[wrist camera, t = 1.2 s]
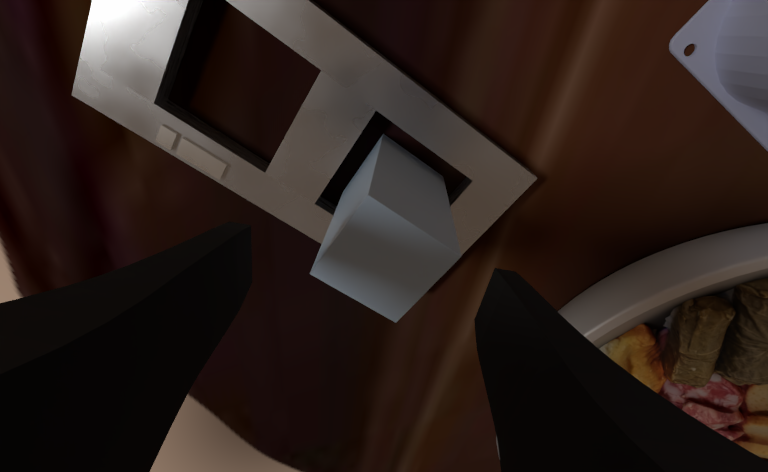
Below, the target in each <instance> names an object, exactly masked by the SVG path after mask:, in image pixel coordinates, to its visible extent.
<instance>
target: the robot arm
mask: <svg viewBox="0 0 768 472" xmlns="http://www.w3.org/2000/svg"><path fill="white" fill-rule="evenodd" d="M689 44H694V46H695V50H694V52H693V53H692V54H691V55H690V56H687V57H686V56H685V55H684V49H685V48H686V46H688V45H689ZM669 50H670V52H671V54H672V55H673V56H674V57H675V58H676V59H677V60H678V61H679V62H680V63H681V64H682V65H683V66H684V67H685V68H686V69H687V70H688V71H689V72H690V73H691V74H692V75H693V76H694V77H695V78H696V79H697V80H698V81H699V82H700V83H701V84H702V85H703V86H704V87H705V88H706V89H707V90H708V91H709V92H710V93H711V94H712V95H713V96H714V97H715V98H716V100H717V101H718V102H719V103H720V104H721V105H722V106H723V107H724V108H725V109H726V110H727V111H728V112H729V113H730V114H731V115H732V116H733V117H734V118H735V119H736V120H737V121H738V122H739V123H740V124H741V125H742V126H743V127H744V128H745V129H746V130H747V131H748V132H749V133H750V134H751V135H752V136H753V137H754V138H755V139H756V140H757V141H758V142H759V143H760V144H761V145H762V146H763V147H764V148H765V149H766V151H767V152H768V0H709V1H708V2H707V3H706V4H705V5H704V6H703V7H702V8H701V9H700V10H699V11H698V12H697V13H696V14H695V15H694V16H693V17H692V18H691V19H690V20H689V21H688V22H687V23H686V24H685V25H684V26H683V27H682V28H681V29H680V30H679V31H678V32H677V33H676V34H675V35H674V37H673V38H672V39H671V41H670V44H669ZM251 283H252V255H251V225H245V224H239V223H234V222H228V223H225V224H223V225H220V226H218V227H216V228H213V229H211V230H209V231H207V232H205V233H202V234H200V235H198V236H196V237H194V238H192V239H189V240H187V241H185V242H183V243H181V244H178V245H176V246H174V247H172V248H169V249H167V250H165V251H162V252H160V253H158V254H155V255H153V256H150V257H148V258H145V259H143V260H140V261H138V262H136V263H133V264H131V265H128V266H126V267H123V268H120V269H117V270H115V271H112V272H109V273H106V274H103V275H100V276H97V277H94V278H91V279H88V280H85V281H82V282H79V283H75V284H72V285H69V286H65V287H61V288H58V289H54V290H50V291H46V292H43V293H39V294H35V295H31V296H28V297H24V298H20V299H16V300H12V301H8V302H4V303H0V472H150V469H151V467H152V465H153V463H154V461H155V459H156V457H157V455H158V452H159V450H160V448H161V446H162V444H163V442H164V440H165V438H166V436H167V434H168V431H169V429H170V427H171V425H172V423H173V421H174V419H175V417H176V415H177V413H178V411H179V409H180V408H181V406H182V404H183V402H184V400H185V398H186V396H187V394H188V392H189V390H190V388H191V386H192V385H193V383H194V381H195V380H196V378H197V376H198V375H199V373H200V371H201V370H202V368H203V367H204V365H205V364H206V362H207V360H208V359H209V357H210V356H211V354H212V353H213V351H214V350H215V348H216V346H217V345H218V343H219V342H220V340H221V339H222V337H223V335H224V334H225V332H226V331H227V329H228V328H229V326H230V324H231V323H232V321H233V320H234V318H235V316H236V315H237V313H238V311H239V310H240V307H241V305H242V303H243V301H244V299H245V297H246V295H247V292H248V290H249V288H250V285H251ZM475 332H476V343H477V351H478V356H479V361H480V365H481V369H482V374H483V378H484V382H485V387H486V391H487V395H488V399H489V404H490V408H491V412H492V416H493V421H494V425H495V431H496V436H497V441H498V449H499V457H500V464H501V472H768V461H766V460H764V459H762V458H760V457H759V456H757V455H755V454H753V453H752V452H750V451H748V450H746V449H745V448H743V447H741V446H740V445H738V444H736V443H735V442H733V441H731V440H730V439H728V438H726V437H725V436H723V435H721V434H720V433H718V432H716V431H714V430H713V429H711V428H710V427H708V426H706V425H705V424H703V423H702V422H700V421H698V420H697V419H695V418H694V417H692V416H690V415H689V414H687V413H686V412H684V411H683V410H681V409H680V408H678V407H677V406H675V405H674V404H672V403H671V402H669V401H668V400H667V399H665V398H664V397H662V396H661V395H659V394H658V393H656V392H655V391H653V390H652V389H650V388H649V387H648V386H646V385H645V384H643V383H642V382H641V381H639V380H638V379H637V378H635V377H634V376H633V375H631V374H630V373H629V372H627V371H626V370H625V369H623V368H622V367H621V366H620V365H618V364H617V363H616V362H614V361H613V360H612V359H611V358H609V357H608V356H607V355H606V354H604V353H603V352H602V351H601V350H600V349H598V348H597V347H596V346H595V345H594V344H593V343H591V342H590V341H589V340H588V339H587V338H586V337H585V336H583V335H582V334H581V333H580V332H579V331H578V330H577V329H576V328H574V327H573V326H572V325H571V324H570V323H569V322H568V321H567V320H566V319H565V318H564V317H563V316H562V315H560V314H559V313H558V312H557V311H556V310H555V309H554V308H553V307H552V306H551V305H550V304H549V303H548V302H547V301H546V300H545V299H544V298H543V297H542V296H541V295H540V294H539V293H538V292H537V291H536V290H535V289H534V288H533V287H532V286H531V285H530V284H529V283H527V282H526V281H525V280H524V279H523V278H522V277H521V276H520V275H519V274H517V273H516V272H514V271H508V270H502V269H497V268H495V269H494V272H493V274H492V277H491V279H490V282H489V284H488V287H487V290H486V292H485V295H484V297H483V300H482V302H481V305H480V307H479V310H478V312H477V315H476V317H475Z"/></svg>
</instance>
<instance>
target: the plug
mask: <svg viewBox="0 0 768 472" xmlns="http://www.w3.org/2000/svg"><path fill="white" fill-rule="evenodd" d="M460 257H461V251H460V247H459V243H458V238H457V234H456V230H455V225H454V221H453V217H452V212H451V208H450V204H449V199H448V195H447V191H446V186H445V182H444V178H443V176H442V175H440V174H439V173H438V172H436V171H435V170H433V169H432V168H431V167H429V166H428V165H426V164H425V163H424V162H422V161H421V160H419V159H418V158H417V157H415V156H414V155H412V154H411V153H410V152H408V151H407V150H405V149H404V148H403V147H401V146H400V145H398V144H397V143H396V142H394V141H393V140H391V139H390V138H389V137H387V136H386V135H384V134H383V135H382V136H381V138H380V139H379V140H378V142H377V143H376V145H375V146H374V148H373V149H372V151H371V152H370V153H369V155H368V156H367V158H366V159H365V161H364V162H363V163H362V165H361V166H360V168H359V169H358V171H357V172H356V174H355V175H354V176H353V178H352V179H351V181H350V182H349V184H348V185H347V187H346V188H345V189H344V191H343V193H342V196H341V198H340V201H339V203H338V205H337V208H336V210H335V213H334V215H333V218H332V220H331V223H330V225H329V228H328V230H327V233H326V235H325V238H324V240H323V242H322V245H321V247H320V250H319V252H318V255H317V257H316V260H315V262H314V265H313V267H312V270H311V272H310V274H311V275H313V276H314V277H316V278H318V279H320V280H321V281H323V282H325V283H327V284H328V285H330V286H332V287H334V288H336V289H337V290H339V291H341V292H343V293H344V294H346V295H348V296H350V297H351V298H353V299H355V300H357V301H358V302H360V303H362V304H364V305H365V306H367V307H369V308H371V309H373V310H374V311H376V312H378V313H380V314H381V315H383V316H385V317H387V318H388V319H390V320H392V321H394V322H395V323H396V322H397V321H398V320H399V319H400V318H401V317H402V316H403V315H404V314H405V313H406V312H407V311H408V310H409V309H410V308H411V307H412V306H413V305H414V304H415V303H416V302H417V301H418V300H419V299H420V298H421V297H422V296H423V295H424V294H425V293H426V292H427V291H428V290H429V289H430V288H431V287H432V286H433V285H434V284H435V283H436V282H437V281H438V280H439V279H440V278H441V277H442V276H443V275H444V274H445V273H446V272H447V271H448V270H449V269H450V268H451V267H452V266H453V265H454V264H455V263H456V262H457V261H458V260H459V258H460Z"/></svg>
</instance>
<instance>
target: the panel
mask: <svg viewBox="0 0 768 472" xmlns="http://www.w3.org/2000/svg"><path fill="white" fill-rule="evenodd" d="M226 1H227V2H229V3H230V4H231V5H233V6H234V7H235V8H237V9H238V10H240V11H241V12H242V13H244V14H245V15H246V16H248V17H249V18H250V19H252V20H253V21H255V22H256V23H257V24H259V25H260V26H261V27H263V28H264V29H266V30H267V31H268V32H270V33H271V34H272V35H274V36H275V37H276V38H278V39H279V40H281V41H282V42H283V43H285V44H286V45H287V46H289V47H290V48H292V49H293V50H294V51H296V52H297V53H298V54H300V55H301V56H302V57H304V58H305V59H307V60H308V61H309V62H311V63H312V64H313V65H315V66H316V67H318V68H319V69H320V70H321V72H320V74H319V76H318V77H317V79H316V81H315V83H314V85H313V87H312V88H311V90H310V92H309V94H308V96H307V97H306V99H305V101H304V103H303V105H302V107H301V108H300V110H299V112H298V114H297V116H296V117H295V119H294V121H293V123H292V125H291V127H290V128H289V130H288V132H287V134H286V136H285V137H284V139H283V141H282V143H281V145H280V147H279V148H278V150H277V152H276V154H275V156H274V157H273V159H272V161H271V163H268V162H266V161H265V160H263V159H262V158H260V157H258V156H257V155H255V154H254V153H252V152H251V151H249V150H247V149H246V148H244V147H243V146H241V145H240V144H238V143H236V142H235V141H233V140H232V139H230V138H228V137H227V136H225V135H224V134H222V133H221V132H219V131H217V130H216V129H214V128H213V127H211V126H209V125H208V124H206V123H205V122H203V121H202V120H200V119H198V118H197V117H195V116H194V115H192V114H191V113H189V112H187V111H186V110H184V109H183V108H181V107H179V106H178V105H176V104H175V103H173V102H172V101H170V100H168V98H169V95H170V92H171V89H172V87H173V84H174V81H175V78H176V75H177V73H178V70H179V67H180V64H181V61H182V59H183V56H184V53H185V50H186V47H187V44H188V42H189V39H190V36H191V33H192V30H193V28H194V25H195V22H196V19H197V16H198V14H199V11H200V8H201V5H202V2H203V0H92V4H91V8H90V13H89V18H88V22H87V27H86V31H85V36H84V41H83V45H82V50H81V54H80V59H79V63H78V68H77V73H76V77H75V82H74V86H73V91H72V95H73V96H74V97H76V98H78V99H79V100H81V101H83V102H84V103H86V104H88V105H89V106H91V107H93V108H94V109H96V110H98V111H99V112H101V113H103V114H104V115H106V116H108V117H110V118H111V119H113V120H115V121H116V122H118V123H120V124H121V125H123V126H125V127H126V128H128V129H130V130H131V131H133V132H135V133H136V134H138V135H140V136H141V137H143V138H145V139H146V140H148V141H150V142H151V143H153V144H155V145H156V146H158V147H160V148H161V149H163V150H165V151H167V152H168V153H170V154H172V155H173V156H175V157H177V158H178V159H180V160H182V161H183V162H185V163H187V164H188V165H190V166H192V167H193V168H195V169H197V170H198V171H200V172H202V173H203V174H205V175H207V176H208V177H210V178H212V179H213V180H215V181H217V182H218V183H220V184H222V185H224V186H225V187H227V188H229V189H230V190H232V191H234V192H235V193H237V194H239V195H240V196H242V197H244V198H245V199H247V200H249V201H250V202H252V203H254V204H255V205H257V206H259V207H260V208H262V209H264V210H265V211H267V212H269V213H270V214H272V215H274V216H276V217H277V218H279V219H281V220H282V221H284V222H286V223H287V224H289V225H291V226H292V227H294V228H296V229H297V230H299V231H301V232H302V233H304V234H306V235H307V236H309V237H311V238H312V239H314V240H316V241H317V242H319V243H321V244H322V242H323V240H324V238H325V235H326V233H327V230H328V228H329V225H330V223H331V220H332V218H333V215H334V213H335V210H336V208H337V206H336V205H334V204H333V203H331V202H330V201H328V200H326V199H325V198H323V197H322V196H320V195H321V193H322V192H323V190H324V189H325V187H326V186H327V184H328V183H329V181H330V180H331V178H332V177H333V175H334V174H335V172H336V171H337V169H338V168H339V166H340V165H341V163H342V161H343V160H344V158H345V157H346V155H347V154H348V152H349V151H350V149H351V148H352V146H353V145H354V143H355V142H356V140H357V139H358V137H359V136H360V134H361V133H362V131H363V130H364V128H365V127H366V125H367V124H368V122H369V121H370V119H371V118H372V116H373V115H374V113H375V111H378V112H379V113H381V114H382V115H383V116H385V117H386V118H387V119H389V120H390V121H391V122H393V123H394V124H396V125H397V126H398V127H400V128H401V129H402V130H404V131H405V132H407V133H408V134H409V135H411V136H412V137H413V138H415V139H416V140H417V141H419V142H420V143H422V144H423V145H424V146H426V147H427V148H428V149H430V150H431V151H433V152H434V153H435V154H437V155H438V156H439V157H441V158H442V159H443V160H445V161H446V162H448V163H449V164H450V165H452V166H453V167H454V168H456V169H457V170H459V171H460V172H461V173H463V174H464V175H465V176H467V177H466V178H465V179H464V180H463V181H462V182H461V183H460V185H459V186H458V187H457V188H456V189H455V190H454V191H453V193H452V194H451V195H450V196H449V197H448V199H449V204H450V208H451V212H452V217H453V221H454V225H455V230H456V234H457V238H458V243H459V247H460V251H461V255H462V254H463V253H464V252H465V251H466V250H467V249H468V248H469V247H470V246H471V245H472V244H473V243H474V242H475V241H476V240H477V239H478V238H479V237H480V236H481V235H482V234H483V233H484V232H485V231H486V230H487V229H488V228H489V227H490V226H491V225H492V224H493V223H494V222H495V221H496V220H497V219H498V218H499V217H500V216H501V215H502V214H503V213H504V212H505V211H506V210H507V209H508V208H509V207H510V206H511V205H512V204H513V203H514V202H515V201H516V200H517V199H518V198H519V197H520V196H521V195H522V194H523V193H524V192H525V191H526V190H527V189H528V188H529V187H530V186H531V185H532V184H533V183H534V182H535V181H536V179H537V177H536V176H535V175H534V174H533V172H532V171H531V170H530V169H528V168H527V167H526V166H524V165H523V164H522V163H521V162H519V161H518V160H517V159H515V158H514V157H513V156H512V155H510V154H509V153H508V152H506V151H505V150H504V149H503V148H501V147H500V146H499V145H498V144H496V143H495V142H494V141H492V140H491V139H490V138H489V137H487V136H486V135H485V134H483V133H482V132H481V131H480V130H478V129H477V128H476V127H474V126H473V125H472V124H471V123H469V122H468V121H467V120H465V119H464V118H463V117H462V116H460V115H459V114H458V113H456V112H455V111H454V110H453V109H451V108H450V107H449V106H447V105H446V104H445V103H444V102H442V101H441V100H440V99H438V98H437V97H436V96H435V95H433V94H432V93H431V92H430V91H428V90H427V89H426V88H424V87H423V86H422V85H421V84H419V83H418V82H417V81H415V80H414V79H413V78H412V77H410V76H409V75H408V74H406V73H405V72H404V71H403V70H401V69H400V68H399V67H397V66H396V65H395V64H394V63H392V62H391V61H390V60H388V59H387V58H386V57H385V56H383V55H382V54H381V53H379V52H378V51H377V50H376V49H374V48H373V47H372V46H371V45H369V44H368V43H367V42H365V41H364V40H363V39H362V38H360V37H359V36H358V35H356V34H355V33H354V32H353V31H351V30H350V29H349V28H347V27H346V26H345V25H344V24H342V23H341V22H340V21H338V20H337V19H336V18H335V17H333V16H332V15H331V14H329V13H328V12H327V11H326V10H324V9H323V8H322V7H320V6H319V5H318V4H317V3H315V2H314V1H313V0H226Z"/></svg>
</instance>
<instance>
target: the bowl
mask: <svg viewBox="0 0 768 472" xmlns="http://www.w3.org/2000/svg"><path fill="white" fill-rule="evenodd" d="M558 313H559V314H560V315H562V316H563V317H564V318H565V319H566V320H567V321H568V322H569V323H570V324H571V325H572V326H573V327H574V328H576V329H577V330H578V331H579V332H580V333H581V334H582V335H583V336H585V337H586V338H587V339H588V340H589V341H590V342H591V343H593V344H594V345H595V346H596V347H597V348H598V349H600V350H601V351H602V352H603V353H604V354H606V355H607V356H608V357H609V358H611V359H612V360H613V361H614V362H616V363H617V364H618V365H620V366H621V367H622V368H623V369H625V370H626V371H627V372H629V373H630V374H631V375H633V376H634V377H635V378H637V379H638V380H639V381H641V382H642V383H643V384H645V385H646V386H648V387H649V388H650V389H652V390H653V391H655V392H656V393H658V394H659V395H661V396H662V397H664V398H665V399H667V400H668V401H669V402H671V403H672V404H674V405H675V406H677V407H678V408H680V409H681V410H683V411H684V412H686V413H687V414H689V415H690V416H692V417H694V418H695V419H697V420H698V421H700V422H702V423H703V424H705V425H706V426H708V427H710V428H711V429H713V430H714V431H716V432H718V433H720V434H721V435H723V436H725V437H726V438H728V439H730V440H731V441H733V442H735V443H736V444H738V445H740V446H741V447H743V448H745V449H746V450H748V451H750V452H752V453H753V454H755V455H757V456H759V457H760V458H762V459H764V460H766V461H768V223H765V224H759V225H753V226H747V227H742V228H737V229H732V230H728V231H723V232H720V233H716V234H712V235H708V236H704V237H701V238H698V239H695V240H691V241H688V242H685V243H682V244H679V245H676V246H674V247H671V248H668V249H665V250H663V251H660V252H658V253H655V254H653V255H650V256H648V257H645V258H643V259H641V260H639V261H637V262H634V263H632V264H630V265H628V266H626V267H624V268H622V269H620V270H618V271H616V272H615V273H613V274H611V275H609V276H608V277H606V278H604V279H602V280H601V281H599V282H597V283H596V284H594V285H593V286H591V287H590V288H588V289H586V290H585V291H584V292H582V293H581V294H579V295H578V296H577V297H575V298H574V299H573V300H571V301H570V302H569V303H567V304H566V305H565V306H564V307H562V308H561V309H560V310H559V311H558ZM496 439H497V436H496ZM497 448H498V441H497ZM498 453H499V449H498ZM499 459H500V457H499Z"/></svg>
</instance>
